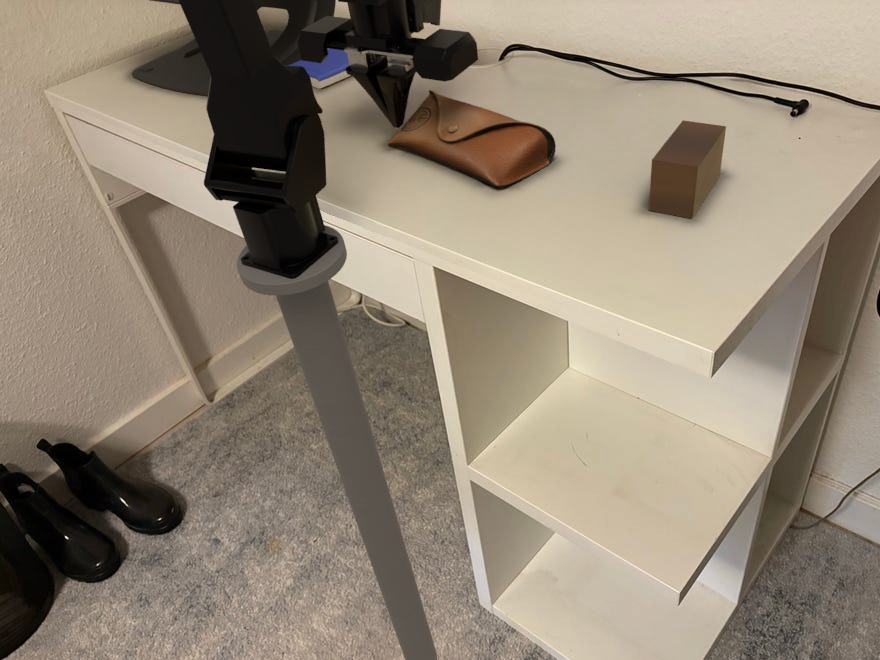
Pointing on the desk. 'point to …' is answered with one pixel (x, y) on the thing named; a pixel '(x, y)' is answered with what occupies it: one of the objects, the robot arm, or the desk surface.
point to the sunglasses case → (476, 140)
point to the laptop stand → (187, 63)
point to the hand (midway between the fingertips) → (398, 126)
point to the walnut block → (686, 168)
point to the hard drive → (326, 68)
